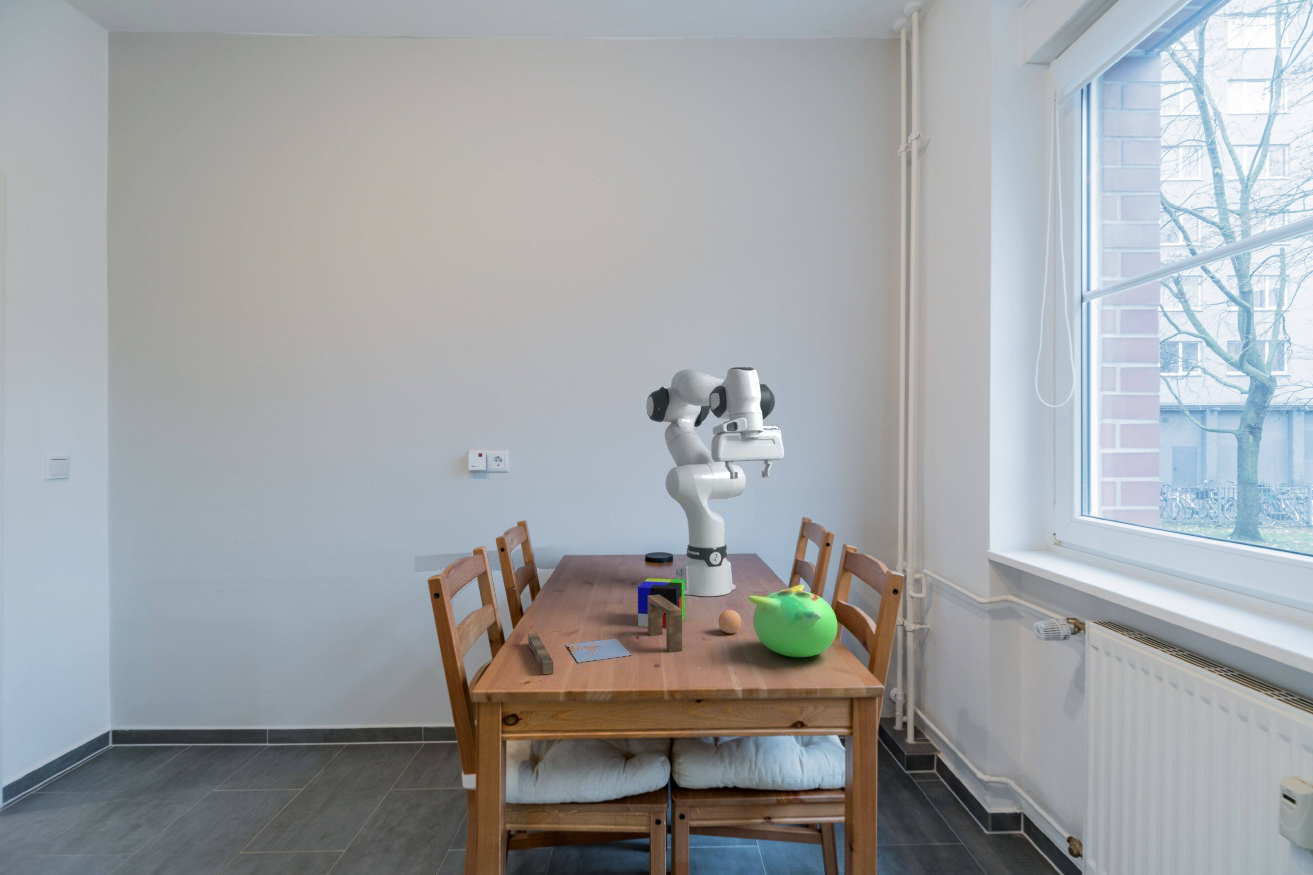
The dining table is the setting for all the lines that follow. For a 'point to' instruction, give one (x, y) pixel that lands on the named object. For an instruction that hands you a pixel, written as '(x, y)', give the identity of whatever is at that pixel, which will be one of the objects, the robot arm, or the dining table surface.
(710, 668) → the dining table surface
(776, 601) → the round green monster toy
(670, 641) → the bridge
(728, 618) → the ball
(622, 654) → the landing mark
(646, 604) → the puzzle toy
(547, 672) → the stopper
